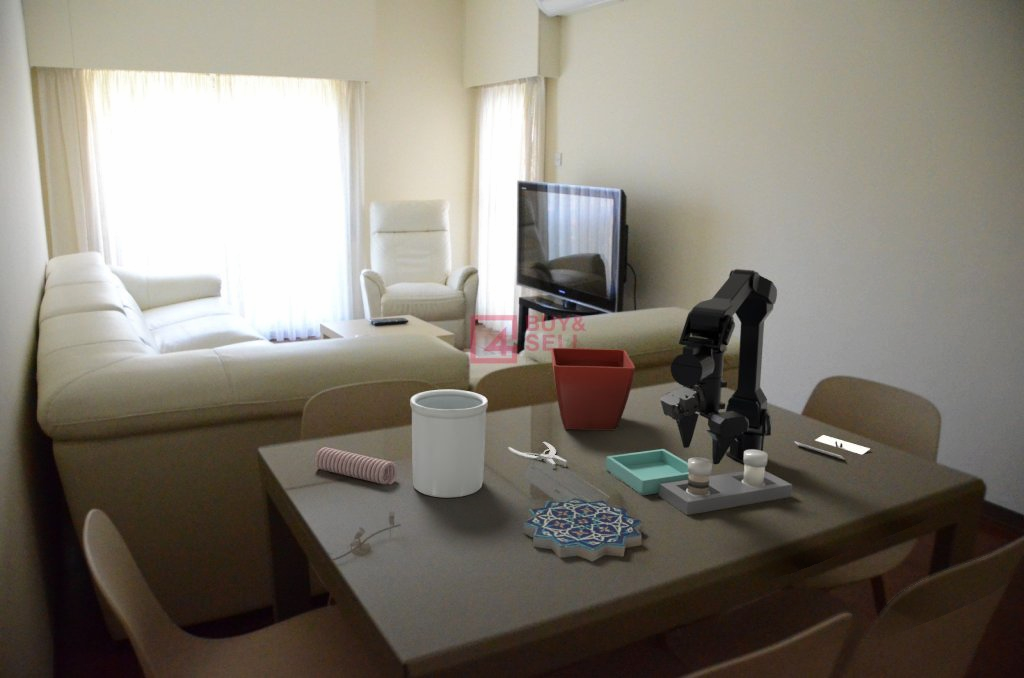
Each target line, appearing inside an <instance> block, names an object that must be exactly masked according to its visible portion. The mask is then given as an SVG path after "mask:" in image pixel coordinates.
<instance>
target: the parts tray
mask: <svg viewBox="0 0 1024 678" xmlns="http://www.w3.org/2000/svg"><path fill="white" fill-rule="evenodd" d="M605 458H606V462H605V471H606V470H607V472H608V471H609V472H610V473H612V474H613V475H615V476H616V477H617V478H616V477H615V476H614V477H615V478H616V479H618V478H619V479H620V480H622V481H623V482H625V483H626V484H627V485H629V486H630V487H631V488H630V487H629V486H628V487H629V488H630V489H632V488H633V489H634V490H633V489H632V490H633V491H635V492H636V491H637V492H638V493H637V492H636V493H637V494H639V495H640V494H641V495H640V496H646V495H652V494H653V495H654V494H659V493H660V484H664V483H670V482H677V481H683V480H688V477H689V472H688V471H687V469H688V461H685V460H684V459H682V458H681V457H679V456H677V455H675V454H674V453H672V452H670V451H668V450H666V449H665V448H661V449H654V450H646V451H639V452H637V451H636V452H630V453H629V452H628V453H623V454H615V455H608V456H606V457H605ZM609 472H608V473H609ZM610 473H609V474H610ZM612 474H611V475H612ZM613 475H612V476H613ZM619 479H618V480H619ZM620 480H619V481H620ZM622 481H621V482H622ZM623 482H622V483H623ZM625 483H624V484H625ZM626 484H625V485H626ZM627 485H626V486H627Z"/></svg>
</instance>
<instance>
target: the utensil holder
mask: <svg viewBox="0 0 1024 678" xmlns="http://www.w3.org/2000/svg"><path fill="white" fill-rule="evenodd" d="M409 402H410V403H409V404H410V408H411V439H412V440H411V447H412V449H411V452H412V453H411V454H412V455H411V458H412V459H411V460H412V461H411V462H412V484H413V488H414V489H415V490H416V491H418V492H419V493H421V494H423V495H426V496H430V497H435V498H445V499H446V498H460V497H464V496H465V497H466V496H468V495H472V494H474V493H477V492H478V491H479V490H480V489H481V488H482V486H483V480H484V469H485V467H484V464H485V447H486V446H485V441H486V428H487V427H486V423H487V409H488V406H489V402H488V398H486V396H484V395H483V394H479V393H477V392H473V391H468V390H462V389H449V388H447V389H435V390H434V389H433V390H427V391H423V392H422V391H421V392H418V393H416V394H414V395H413V396H411V398H410V400H409Z"/></svg>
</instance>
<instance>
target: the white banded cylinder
mask: <svg viewBox="0 0 1024 678" xmlns="http://www.w3.org/2000/svg"><path fill="white" fill-rule="evenodd" d="M687 463H688V469H687V471H688V472H689V477H688V488H687V489H686V492H687V493H689V494H690V495H692V496H693V497H698V496H704V495H710V492H709V491H708V490H709V477H710V476H711V475H712V471H713V460H710V459H709V458H706V457H698V456H697V457H696V456H695V457H690V458H688V459H687Z"/></svg>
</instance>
